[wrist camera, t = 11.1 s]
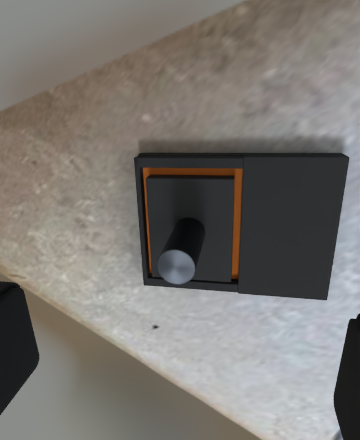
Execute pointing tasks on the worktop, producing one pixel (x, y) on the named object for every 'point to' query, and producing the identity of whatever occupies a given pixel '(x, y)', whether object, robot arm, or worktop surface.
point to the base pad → (264, 218)
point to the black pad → (197, 205)
